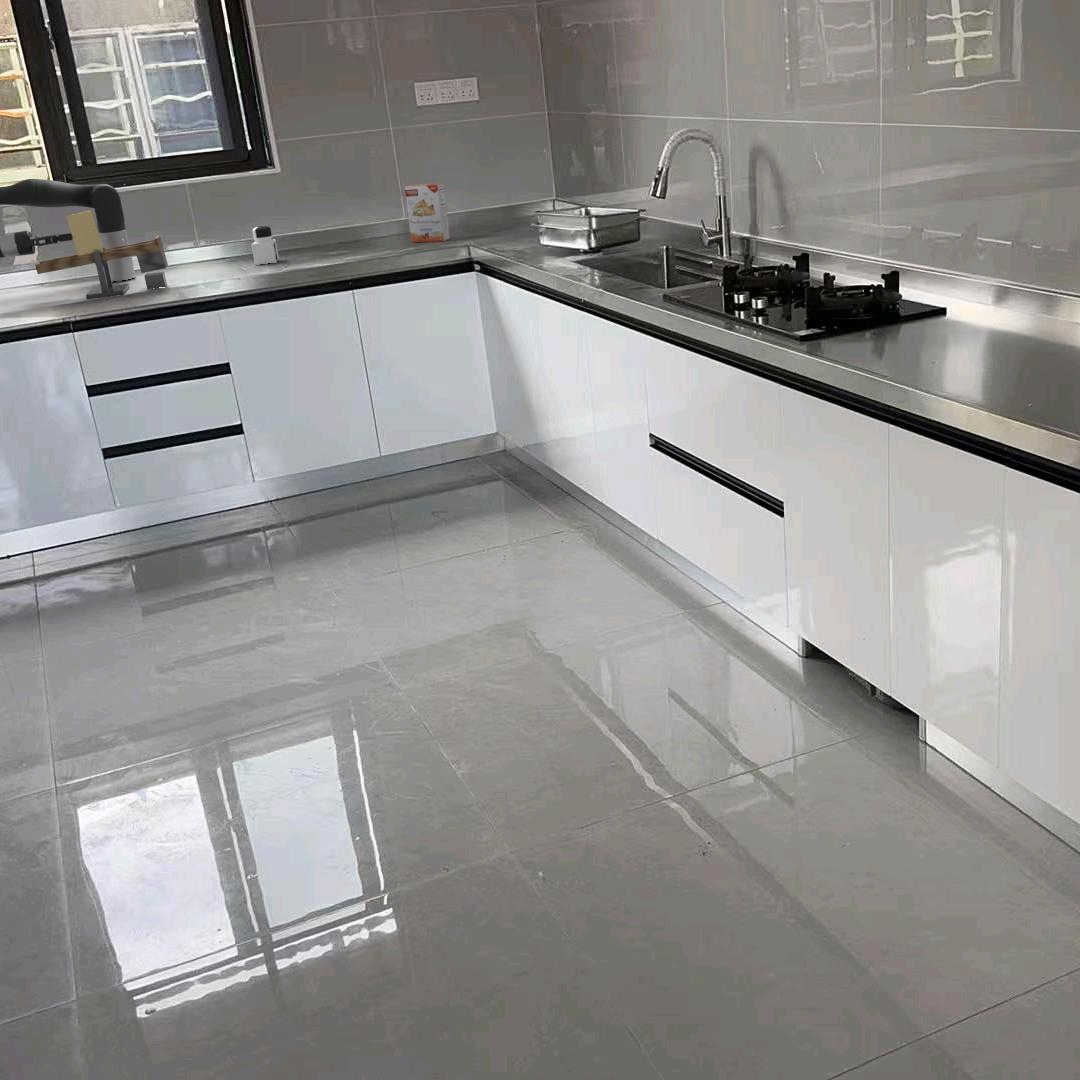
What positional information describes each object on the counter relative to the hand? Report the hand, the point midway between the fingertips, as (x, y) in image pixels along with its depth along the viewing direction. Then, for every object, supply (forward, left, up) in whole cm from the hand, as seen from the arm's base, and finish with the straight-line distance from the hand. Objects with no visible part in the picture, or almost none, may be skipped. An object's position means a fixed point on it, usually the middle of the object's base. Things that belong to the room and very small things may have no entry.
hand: (71, 236), depth 395 cm
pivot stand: (+10, +10, -20) cm, 24 cm away
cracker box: (+84, +95, -20) cm, 129 cm away
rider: (+2, +5, -7) cm, 9 cm away
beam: (+5, +7, -15) cm, 17 cm away
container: (+34, +59, -20) cm, 71 cm away
